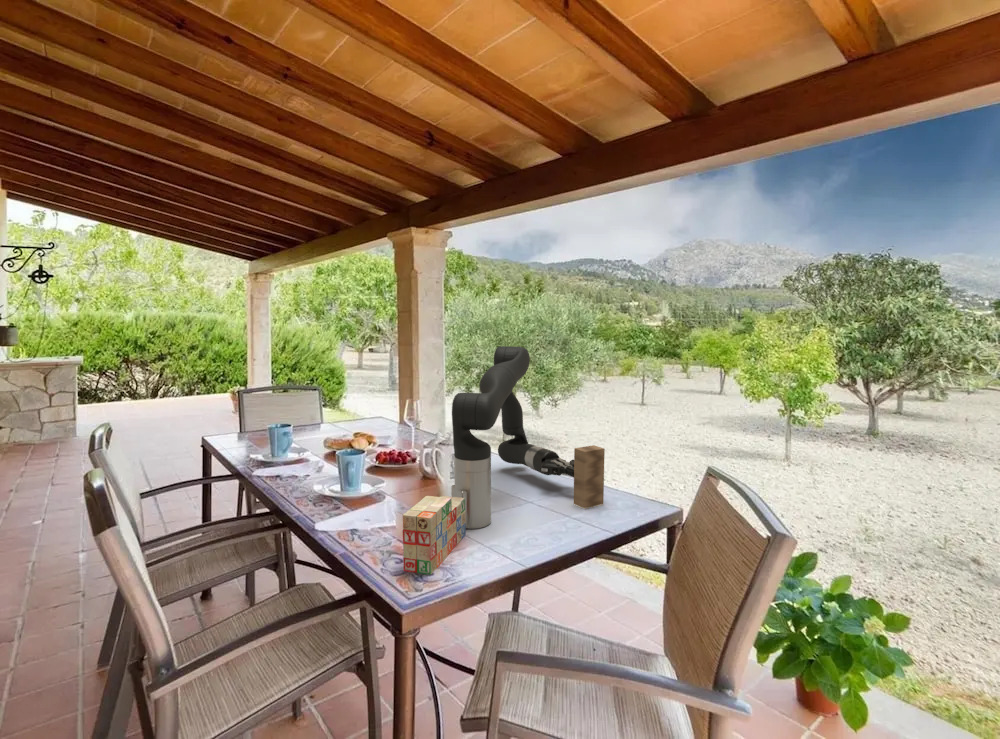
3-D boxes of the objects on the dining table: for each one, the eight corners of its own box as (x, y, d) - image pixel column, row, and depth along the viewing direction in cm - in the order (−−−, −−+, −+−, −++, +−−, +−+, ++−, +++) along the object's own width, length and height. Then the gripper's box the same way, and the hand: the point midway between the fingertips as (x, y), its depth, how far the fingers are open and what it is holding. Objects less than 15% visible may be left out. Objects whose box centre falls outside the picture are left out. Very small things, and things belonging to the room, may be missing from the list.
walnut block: (583, 509, 148) (585, 451, 146) (573, 504, 151) (574, 448, 150) (603, 504, 151) (604, 448, 150) (592, 500, 155) (593, 445, 153)
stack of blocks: (441, 532, 132) (441, 483, 131) (466, 535, 130) (465, 485, 129) (403, 571, 112) (402, 513, 110) (431, 575, 110) (430, 517, 109)
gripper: (524, 451, 166) (559, 464, 151) (558, 445, 173) (595, 457, 158) (524, 475, 166) (558, 490, 152) (558, 468, 173) (594, 482, 159)
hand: (577, 473), depth 155 cm, fingers closed
